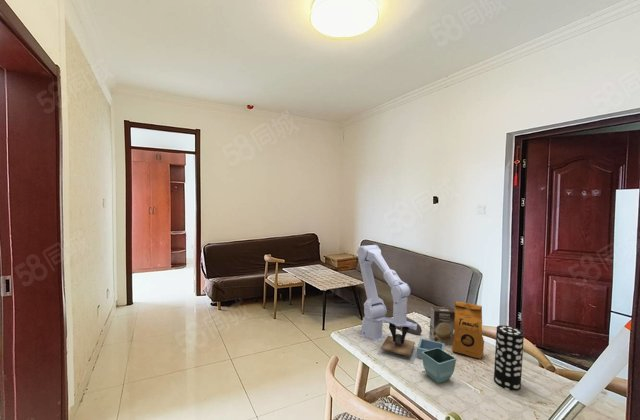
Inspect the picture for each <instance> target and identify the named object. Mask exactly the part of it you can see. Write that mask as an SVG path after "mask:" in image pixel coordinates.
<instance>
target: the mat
mask: <svg viewBox="0 0 640 420" xmlns="http://www.w3.org/2000/svg"><path fill="white" fill-rule="evenodd" d="M385 340H386V338H385V339H384V341H383V343H382V344H381V347H382V345H383V344H384V342H385ZM381 347H380V348H379V349H378V351H377V353H376V355H378V356H382V357H386V358H390V359H393V360H397V361H401V362H404V363H408V364H411V365H413V364H415V360H416V358H417V347H418V346H415V345H414V347H413V350H412V353H411V356H406V355H402V354H398V353H395V352H391V351H387V350H383V349H381Z"/></svg>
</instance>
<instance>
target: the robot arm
mask: <svg viewBox="0 0 640 420" xmlns="http://www.w3.org/2000/svg"><path fill="white" fill-rule="evenodd" d="M356 253H357V257H358V263H359V267H360V272H361V277H362V281H363V285H364V290H365V295H366V301H365V302H364V303H363V307H364V308H363V313H364V315H363V318H362V320H361V321H362V322H361V335H360V336H361V338H364V339H369V340H372V341H377V342H381V341H382V340H383V338H384V337H385V333H383V325H384V324H388V329H389V331H390V334H391V336H392V337H393V342H395V335H396V334H397V327H396V326H398V327H400V326H402V327H403V328H402V330H401V335H402V344H404V340H406V336H407V334H408V333H409V332H408V330H409V328H411V329H414V330H417V324H414V323H411V322H409V321H406V317H408V315H407V313H408V312H407V311H408V310H407V309H408V297H409V296H410V295H411V291H412V290H411V287H410V286H409V284H408V283H407V282H404V281H403V280H402V279H401V278H400V277H399V275H398V273H397V271H396V270H395V269H391V268H390V267H389V266H388V264H387V262H386V260H385V259H384V256H383V255H382V250H381V248H380V247H379V246H378V244H373V245H372V244H370V245H360V246H359V247H358V249H357V251H356ZM373 262H374V263H375V264H376V265H377V267H378V268H379V270H381V272H382V273H383V279H384V280H385V282H386V283H387V284H388V286H389V287H390V293H391V296H392V301H393V305H392V317H387V316H386V315H387V313H388V311H387V307H386V304H385V303H384V300H383V299H382V298H380V297H379V294H378V290H377V285H376V282H375V276H374V274H373V273H374V272H373V269H372V264H373Z"/></svg>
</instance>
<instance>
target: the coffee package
mask: <svg viewBox="0 0 640 420" xmlns="http://www.w3.org/2000/svg"><path fill="white" fill-rule="evenodd" d="M454 312H455V319H454V335H453V341H452V346H451V348H452V351H453V352H455V353H458V354H463V355H466V356H468V357H472V358H477V359H479V360H481V358H482V357H483V354H484V348H485V340H484V337H483V328H482V327H483V315H482V314H483V306H482V305H479V304H472V303H469V302H462V301H454Z"/></svg>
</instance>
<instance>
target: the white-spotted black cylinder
mask: <svg viewBox="0 0 640 420" xmlns="http://www.w3.org/2000/svg"><path fill="white" fill-rule="evenodd" d="M495 332H496V335H495V351H494V353H495V354H494V368H493V370H494V371H493V382H494V383H495V384H496V385H497V386H499V387H500V388H502V389H504V390H506V391H511V392H518V391H520V390H521V389H522V388H521V387H522V373H523V356H524V336H525V332H523V330H521V329H519V328H517V327H514V326H510V325H506V324H505V325H501V324H500V325H497V326H496V331H495Z"/></svg>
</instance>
